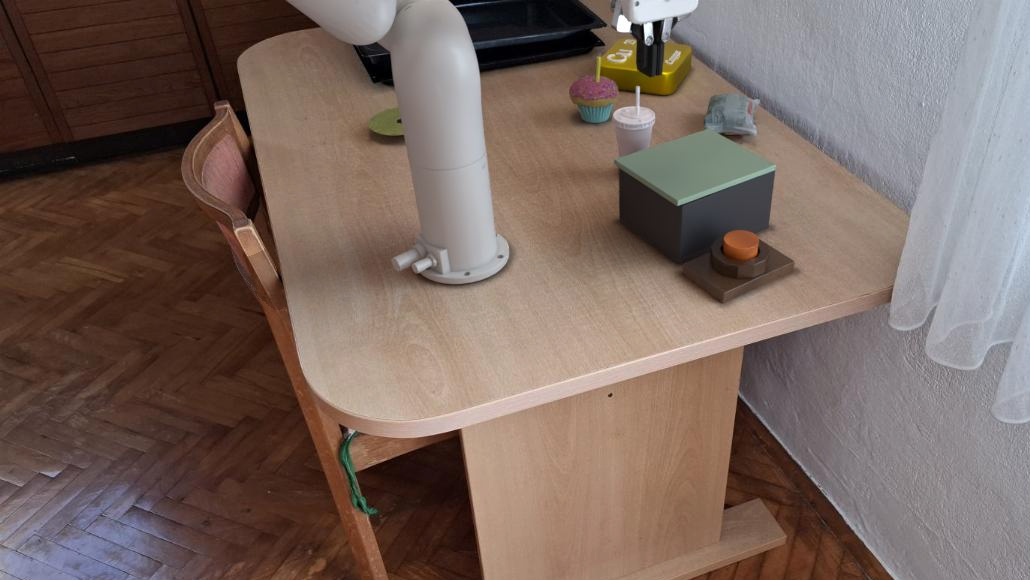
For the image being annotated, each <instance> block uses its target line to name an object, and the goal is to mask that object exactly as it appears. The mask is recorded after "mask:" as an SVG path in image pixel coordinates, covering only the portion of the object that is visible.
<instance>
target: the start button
mask: <svg viewBox="0 0 1030 580" xmlns="http://www.w3.org/2000/svg"><path fill="white" fill-rule="evenodd" d="M759 239H760V238H759V236H757V234H756V233H755V234H754V233H752V232H749V231H745V230H735V231H731V232H728V233H727V234H726V235H725V236H724V241H723V254H724V255H725V256H726V257H728V258H730V259H734V260H738V261H743V260H751V259H753V258H755V257H756V256H757V254H758V245H759Z"/></svg>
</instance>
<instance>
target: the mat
mask: <svg viewBox="0 0 1030 580" xmlns="http://www.w3.org/2000/svg"><path fill="white" fill-rule="evenodd" d="M367 124H368V127H369V129H370V130H371V131H372V132H375V133H377V134H380V135H385V136H404V132H403V126H402V121H401V116H400V111H399V106H398V107H393V108H388V109H386V110H382V111H380V112H377V113H376V114H374V115H373V116H372V117H370V119H369V120H368V123H367Z"/></svg>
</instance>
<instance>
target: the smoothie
mask: <svg viewBox="0 0 1030 580" xmlns="http://www.w3.org/2000/svg"><path fill="white" fill-rule="evenodd" d="M640 95H641V93H640V86H636V92H635V105H632V106H631V105H630V106H624V107H620V108H618V109H616V110H614V112H613V113H612V119H611V121H612V124H613V125H614V128H615V129H614V130H615V136H616V145H617V150H618V158H620V157H623V156H626V155H629V154H632V153H635V152H638V151H641V150H644V149H647V148H650V146H651V140H652V133H653V126H654V124H655V123H656V113H655V111H653V110H652V109H650V108H647V107H645V106H640V105H641V104H640V102H641V101H640V100H641V97H640Z"/></svg>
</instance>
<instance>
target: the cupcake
mask: <svg viewBox="0 0 1030 580" xmlns="http://www.w3.org/2000/svg"><path fill="white" fill-rule="evenodd" d="M601 57H602V56H601V52H599V53H598V56H597V57H596V66H595V67H596V68H595V74H588V75H584V76H581V77H580V78H579V79H577V80H575V81H574V82H573V83H572V84H571V86H570V87H569V89H568V95H569V98H570V100H571V102H572V103H573V104H574V105H576V106H577V108H578V110H579V113H580V116H581V119H582V120H583V121H584V122H586V123H590V124H591V123H592V124H600V123H604V122H606V121H608V120H609V118H610V115H611V112H612V109H613V107H614V104H615V102H616V101H617V100H618V99H619V96H620V92H619V90H618V87H617V86H618V85H617V84H616V83H615V82H614V81H613V80H610V79H609V78H607V77H602V76H601V77H600V65H601Z"/></svg>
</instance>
